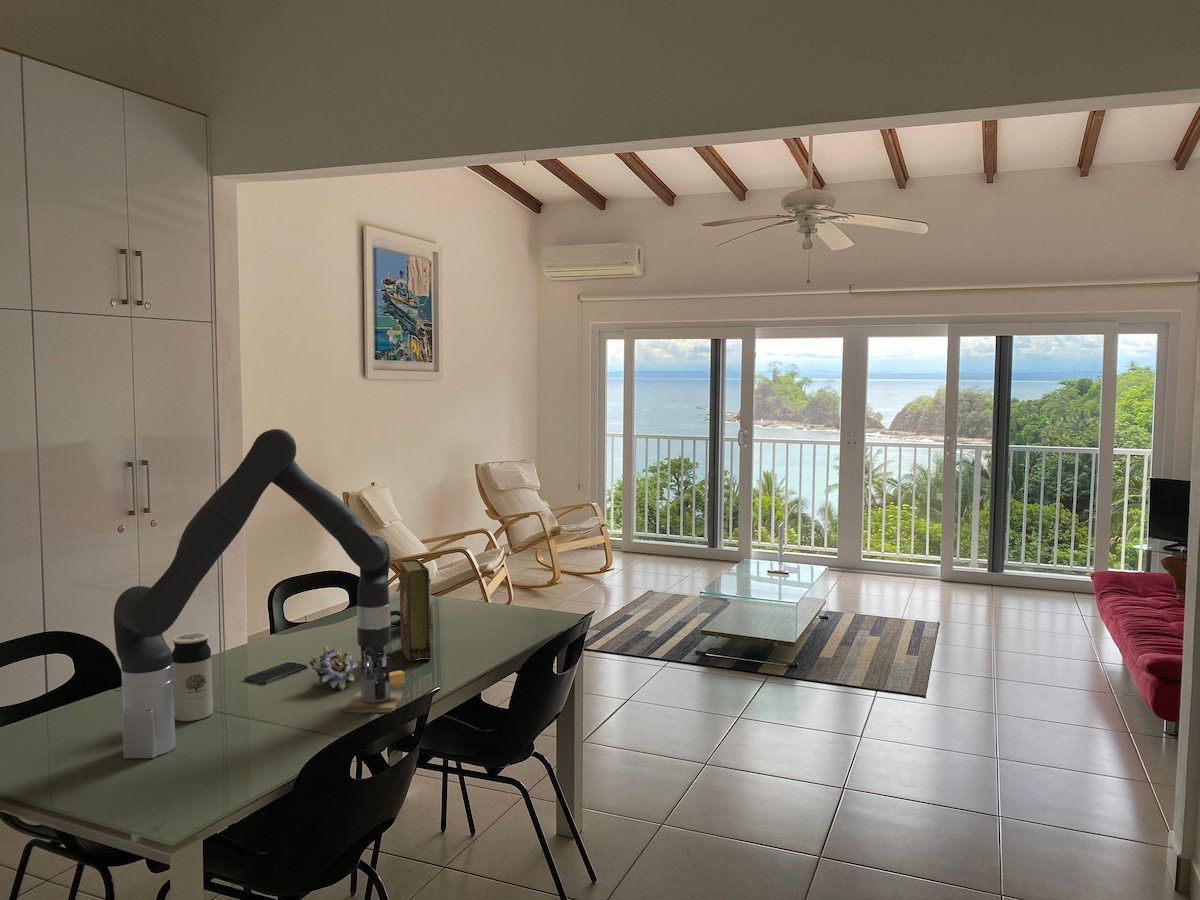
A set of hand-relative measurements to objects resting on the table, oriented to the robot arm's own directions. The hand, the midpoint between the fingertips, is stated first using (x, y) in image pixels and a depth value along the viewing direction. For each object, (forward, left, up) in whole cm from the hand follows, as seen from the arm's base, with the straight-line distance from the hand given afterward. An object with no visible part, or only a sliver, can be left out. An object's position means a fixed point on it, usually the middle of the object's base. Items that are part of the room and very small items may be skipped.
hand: (375, 694), depth 206 cm
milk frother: (+69, +8, -3) cm, 70 cm away
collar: (+1, -1, -1) cm, 2 cm away
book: (+39, -1, -3) cm, 39 cm away
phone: (+22, +31, -3) cm, 39 cm away
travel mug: (-7, +39, -3) cm, 40 cm away
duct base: (0, 0, -2) cm, 2 cm away
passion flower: (+13, +14, -3) cm, 20 cm away
